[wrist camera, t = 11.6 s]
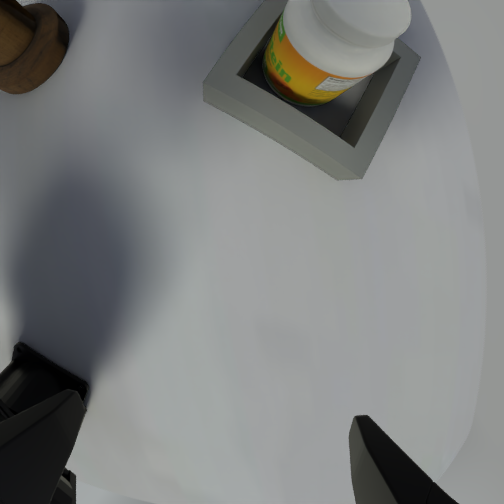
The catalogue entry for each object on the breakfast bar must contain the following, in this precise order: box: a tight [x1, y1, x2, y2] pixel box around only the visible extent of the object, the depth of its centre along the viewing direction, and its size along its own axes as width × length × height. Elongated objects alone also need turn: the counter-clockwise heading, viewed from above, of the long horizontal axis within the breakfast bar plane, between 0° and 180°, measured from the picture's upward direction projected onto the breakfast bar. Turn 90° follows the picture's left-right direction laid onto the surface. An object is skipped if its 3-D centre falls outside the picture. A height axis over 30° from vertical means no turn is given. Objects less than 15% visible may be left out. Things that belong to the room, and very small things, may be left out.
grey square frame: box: [203, 0, 421, 180], centre depth 17 cm, size 10×10×4 cm
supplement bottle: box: [262, 0, 411, 107], centre depth 13 cm, size 5×5×10 cm
